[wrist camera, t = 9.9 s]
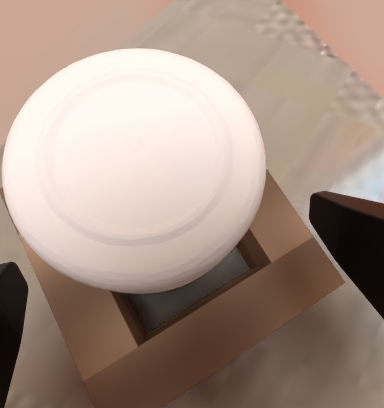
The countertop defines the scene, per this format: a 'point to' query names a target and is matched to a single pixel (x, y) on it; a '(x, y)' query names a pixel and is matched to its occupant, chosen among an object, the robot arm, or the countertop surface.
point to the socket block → (190, 313)
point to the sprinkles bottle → (134, 170)
